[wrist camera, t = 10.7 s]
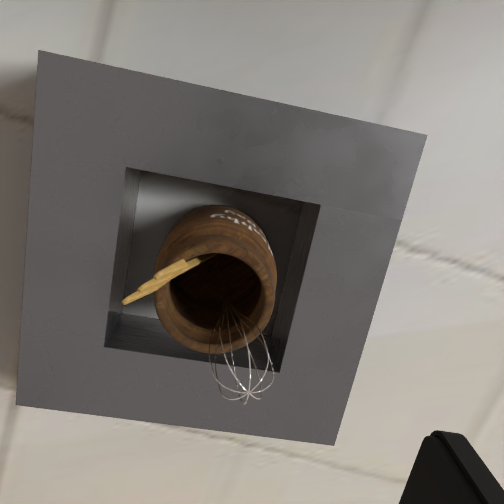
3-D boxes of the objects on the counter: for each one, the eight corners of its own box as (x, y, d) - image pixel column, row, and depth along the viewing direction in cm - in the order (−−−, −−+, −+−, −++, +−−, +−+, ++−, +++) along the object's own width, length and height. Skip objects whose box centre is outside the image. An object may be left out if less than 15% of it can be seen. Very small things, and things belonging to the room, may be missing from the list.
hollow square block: (71, 63, 22) (38, 50, 18) (394, 133, 24) (427, 135, 20) (46, 363, 26) (15, 404, 22) (319, 401, 28) (334, 445, 24)
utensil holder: (210, 321, 26) (202, 477, 15) (138, 241, 24) (64, 347, 13) (289, 261, 25) (345, 375, 14) (220, 175, 24) (219, 223, 12)
